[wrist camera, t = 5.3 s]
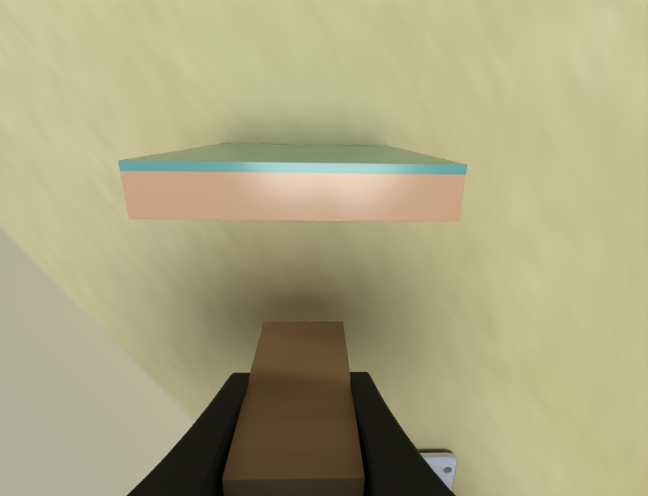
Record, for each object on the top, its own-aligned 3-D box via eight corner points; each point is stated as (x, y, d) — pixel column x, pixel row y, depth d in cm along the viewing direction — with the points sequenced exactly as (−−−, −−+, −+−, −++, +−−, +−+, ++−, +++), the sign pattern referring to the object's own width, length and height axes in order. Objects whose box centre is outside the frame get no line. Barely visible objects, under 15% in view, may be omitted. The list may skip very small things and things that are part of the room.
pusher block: (340, 384, 14) (357, 565, 8) (267, 385, 14) (233, 567, 8) (342, 322, 13) (364, 477, 7) (263, 322, 13) (221, 479, 7)
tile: (385, 174, 15) (458, 221, 7) (225, 172, 15) (129, 219, 7) (387, 145, 14) (467, 164, 7) (223, 143, 14) (118, 160, 7)
